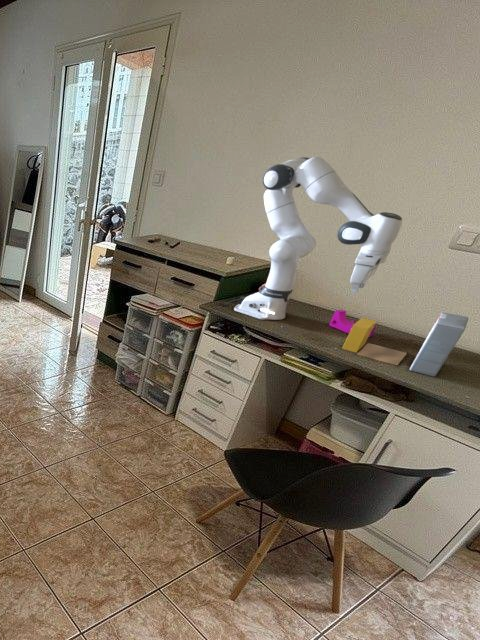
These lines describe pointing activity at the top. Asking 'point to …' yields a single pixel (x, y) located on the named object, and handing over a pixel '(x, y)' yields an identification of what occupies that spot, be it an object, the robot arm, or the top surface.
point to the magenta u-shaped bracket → (343, 322)
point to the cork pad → (382, 354)
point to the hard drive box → (439, 343)
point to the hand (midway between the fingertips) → (356, 290)
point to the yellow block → (358, 335)
